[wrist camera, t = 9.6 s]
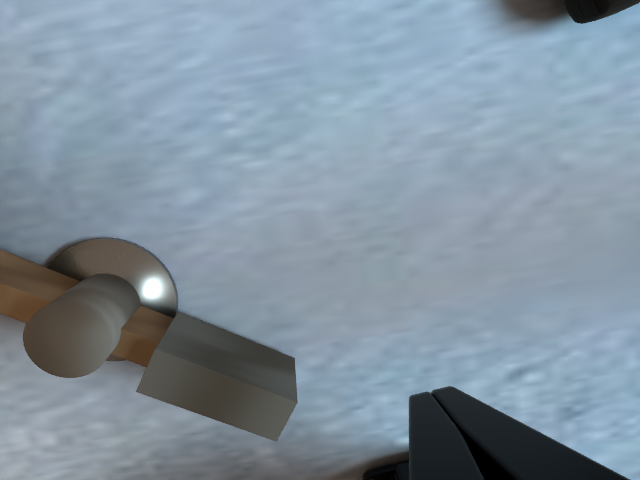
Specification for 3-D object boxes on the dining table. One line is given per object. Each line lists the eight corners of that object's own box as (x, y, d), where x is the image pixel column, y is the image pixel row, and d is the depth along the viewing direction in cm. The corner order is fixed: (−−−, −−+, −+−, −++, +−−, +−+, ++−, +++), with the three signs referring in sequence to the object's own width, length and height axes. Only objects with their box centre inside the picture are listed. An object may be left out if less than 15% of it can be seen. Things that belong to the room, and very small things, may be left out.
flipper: (298, 349, 20) (303, 404, 15) (272, 399, 20) (270, 465, 16) (-197, 148, 16) (-372, 149, 11) (-215, 216, 16) (-388, 242, 12)
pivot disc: (192, 342, 20) (191, 345, 19) (70, 370, 19) (67, 373, 19) (156, 225, 18) (154, 226, 18) (23, 253, 18) (19, 255, 18)
